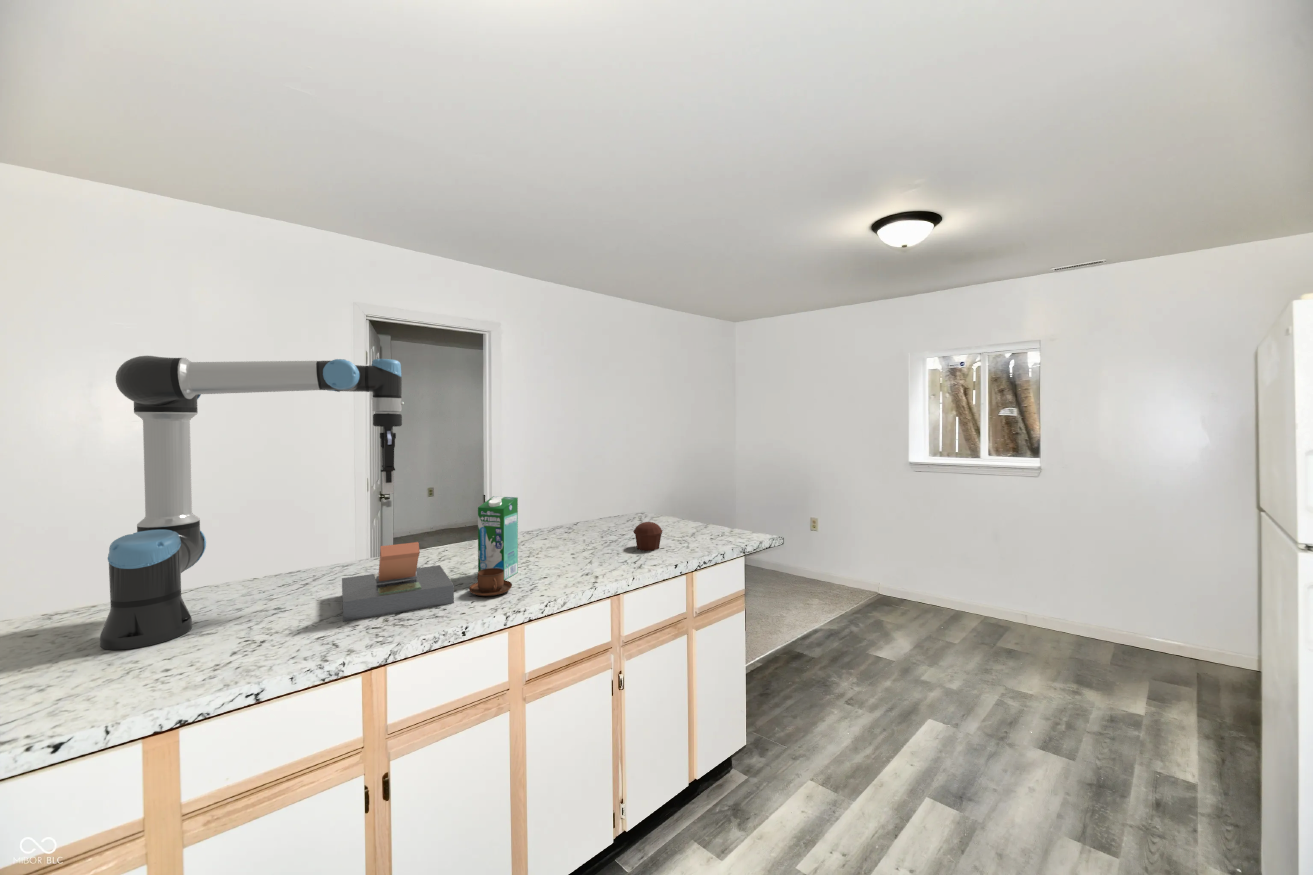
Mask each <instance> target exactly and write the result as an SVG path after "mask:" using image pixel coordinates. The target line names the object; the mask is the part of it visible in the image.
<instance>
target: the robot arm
mask: <svg viewBox="0 0 1313 875" xmlns="http://www.w3.org/2000/svg"><path fill="white" fill-rule="evenodd" d="M402 380H403V379H402V364H401V362H400V361H399V360H397V359H393V358H392V359H391V358H390V359H388V358H375V359H373V360H372V362H371V365H359V364H357V365H356V364H354V363H353V362H352V361H350V360H347V359H341V358H339V359H338V358H334V359H332V360H272V361H271V360H270V361H269V360H267V361H265V360H264V361H263V360H262V361H258V360H257V361H191V360H189V358H187V357H163V356H162V357H161V356H154V355H139V356H136V357H132V358H129V359H127V360H126V361H124V362H123V363H122V364H121V365H120V366H119V368H118V369H117V370H116V373H115V383H116V386H117V388H118V390H119V392H120V393H121V394H122V395H123V396H124V397H125V398H127V400H130V401H132V402H133V414H135V415H136V416H138V417H139V418H140V419H141V420H142V433H143V434H142V436H143V470H144V471H143V473H144V474H143V475H144V512H145V516H144V517H143V518H142V519H141V520H140V521H139V522H138V523H137V524H136V528H137V529H136V532H133V533H132V534H131V533H130V534H126V535H125V534H124V535H122V536H120V537H118V538H116V539H114V540H113V541H112V542H111V543H110V545H109V549H108V555H107V562H108V571H109V573H108V575H109V576H108V578H109V580H108V581H109V596H110V597H109V599H110V610H109V613H108V615H107V617H106V619H105V623H104V624H103V628H102V630H101V632H100V635H99V646H100V647H101V649H105V650H111V651H119V650H122V651H123V650H130V649H132V650H133V649H138V648H144V647H149V646H153V645H156V644H157V645H158V644H160V643H164V642H167V641H170V640H173V639H176V638H179V637H180V636H183V635H185V634H186V633H188V632H190V631H191V630H192V628H193V618H192V616H191V613H190V612H189V610H188V608H187V606H186V604H185V602H184V601H185V600H184V599H183V597H182V575H181V574H182V573H183V572H185V571H187V570H189V569H191V568H192V567H194V566H195V564H196V563H198V562H199V560H200V559H201V558H202V556H203V555H204V553H205V550H206V549H207V548H206V547H207V539H206V536H205V534H204V532H203V531H202V530H201V519H200V517H198V516H197V515H195V514H194V513H193V508H192V507H193V506H192V505H193V504H192V503H193V502H192V501H193V500H192V464H191V463H192V457H191V456H192V455H191V420H192V419H193V418H194V417H195V416H196V415H198V400H199V398H200V397H201V395H216V394H217V395H222V394H248V393H251V394H252V393H272V392H273V393H276V392H278V393H279V392H303V391H304V392H307V391H329V392H336V393H337V392H338V393H340V392H354V393H355V392H361V393H362V392H366V393H372V403H371V404H372V412H373V414H372V426H374V427H378V428H379V427H380V428H381V427H382V432H379V439H380V448H381V460H382V461H381V463H382V464H381V468H382V469H380V472H381V473H382V495H392V494H394V493H395V492H394V491H395V489H394V487H395V484H394V483H395V482H394V480H395V479H394V477H395V476H394V473H395V471H396V468H395V448H396V439H397V438H396V437H397V433H396V432H394V429H393V428H394V427H395V428H396V427H402V425H403V416H402V414H401V413H400V412H402V410H403V409H402V408H403V407H402V406H403V405H405V403H404V401H402V388H403V386H402V382H403V381H402Z"/></svg>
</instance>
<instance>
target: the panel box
mask: <svg viewBox="0 0 1313 875" xmlns="http://www.w3.org/2000/svg"><path fill="white" fill-rule="evenodd" d="M416 571H417V578H414V579H407V580H400V581H393V582H386V583H379V584H377V583H376V576H379V574H378V573H379V572H378V573H372V574H371V573H369V574H361V575H357V576H356V575H355V576H354V575H353V576H347V577H342V578H341V596H342V597H341V598H342V601H341V602H342V619H343V620H342V621H343V623H344V622H350V621H355V620H361V619H368V618H373V617H374V618H375V617H379V616H380V617H381V616H384V615H392V614H398V613H402V612H407V611H408V612H410V611H414V610H420V609H427V608H431V607H437V606H445V605H449V604H450V605H451V604H454V602H455V597H454V596H455V586H454V583H453V581H452V580H451V579H450V577H449V576H448V574H447V573H446V572H445V571H444V569H443V568H442V566H441V565H439V564H438V565H432V566H431V565H430V566H424V567H423V566H422V567H417V569H416Z"/></svg>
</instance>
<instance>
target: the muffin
mask: <svg viewBox="0 0 1313 875" xmlns="http://www.w3.org/2000/svg"><path fill="white" fill-rule="evenodd" d="M632 532H633V534H634V537H635V543H636V549H637V550H639V549H640V551H645V552H647V551H649V552H650V551H656V550H660V543H661V539H662V538H661V537H662V534H663V529H662V528H661V526H660V525H659V524H657V523H656V522H653V521H644V522H640V523H639V524H637V525H636V527H635V528H634V530H633V531H632Z"/></svg>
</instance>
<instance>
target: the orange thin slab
mask: <svg viewBox="0 0 1313 875" xmlns="http://www.w3.org/2000/svg"><path fill="white" fill-rule="evenodd" d="M379 548H380V549H379V564H378V565H379V566H378V574H379V576H376V583H377V584H379V583H386V582H393V581H400V580H407V579H414V578H417V571H416V569H417V568H418V562H419V557H420V553H421V552H420V544H419V542H418V541H416V542H415V541H414V542H408V543H407V542H406V543H398V544H397V543H396V544H391V545H390V544H389V545H388V544H387V545H380V547H379Z"/></svg>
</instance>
